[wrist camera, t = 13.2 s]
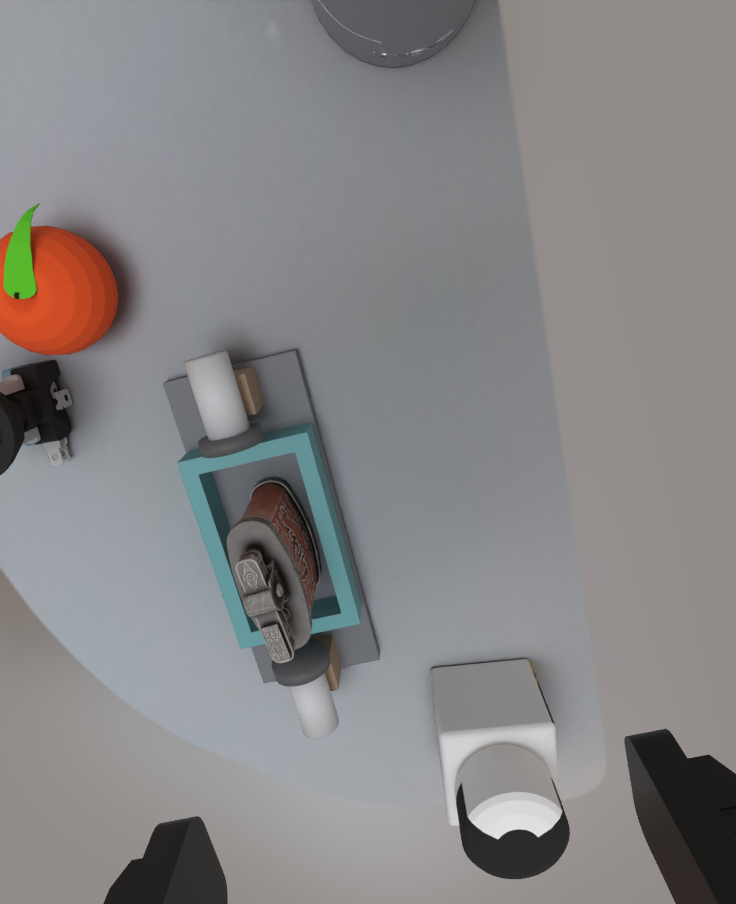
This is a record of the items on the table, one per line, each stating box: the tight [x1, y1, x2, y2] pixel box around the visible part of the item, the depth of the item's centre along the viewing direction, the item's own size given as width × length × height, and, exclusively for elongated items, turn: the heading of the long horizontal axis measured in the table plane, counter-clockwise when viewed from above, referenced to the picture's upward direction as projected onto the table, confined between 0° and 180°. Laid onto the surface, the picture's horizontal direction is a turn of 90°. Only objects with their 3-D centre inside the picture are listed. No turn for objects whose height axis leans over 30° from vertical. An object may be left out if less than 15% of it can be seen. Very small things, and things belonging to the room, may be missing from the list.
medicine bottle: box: [430, 659, 570, 879], centre depth 41 cm, size 7×7×12 cm
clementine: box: [0, 204, 118, 355], centre depth 35 cm, size 8×7×7 cm
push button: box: [0, 360, 72, 475], centre depth 36 cm, size 7×5×10 cm
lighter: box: [227, 476, 322, 663], centre depth 37 cm, size 8×3×10 cm, turn 18°
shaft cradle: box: [163, 349, 380, 739], centre depth 39 cm, size 24×8×7 cm, turn 14°
